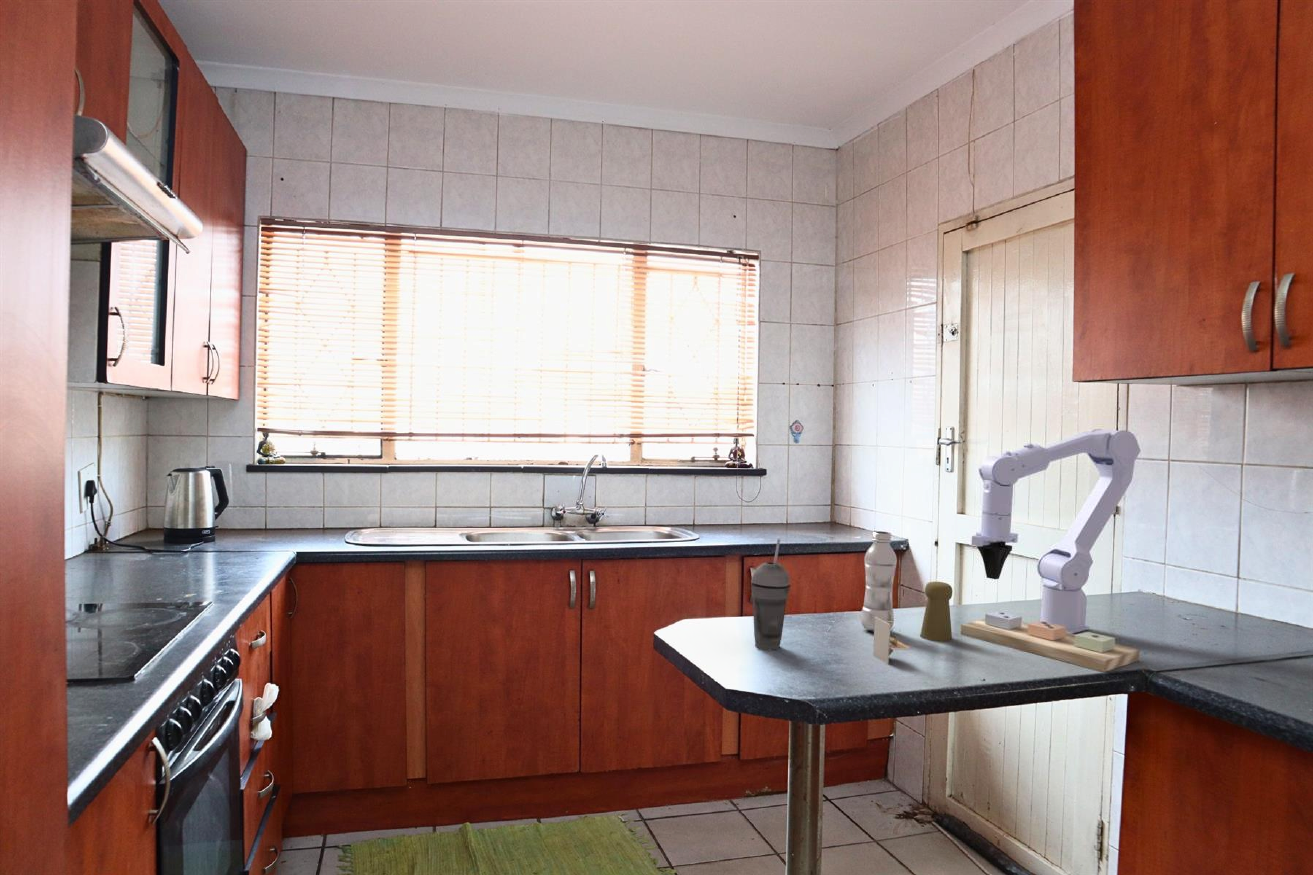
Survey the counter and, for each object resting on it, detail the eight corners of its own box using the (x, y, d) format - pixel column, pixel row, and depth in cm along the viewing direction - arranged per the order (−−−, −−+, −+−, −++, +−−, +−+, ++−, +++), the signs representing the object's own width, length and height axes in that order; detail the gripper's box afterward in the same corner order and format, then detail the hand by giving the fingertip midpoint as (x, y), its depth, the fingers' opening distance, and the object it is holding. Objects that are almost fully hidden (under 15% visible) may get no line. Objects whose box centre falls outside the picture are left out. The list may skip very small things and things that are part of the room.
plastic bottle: (857, 632, 166) (863, 532, 165) (862, 625, 172) (867, 529, 171) (891, 637, 163) (896, 536, 162) (895, 629, 169) (900, 532, 169)
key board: (998, 625, 177) (998, 616, 177) (1138, 660, 154) (1139, 649, 154) (960, 634, 168) (961, 624, 168) (1104, 671, 146) (1104, 660, 146)
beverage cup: (755, 638, 158) (760, 533, 157) (792, 645, 154) (797, 538, 154) (741, 647, 151) (747, 538, 150) (780, 654, 148) (785, 542, 147)
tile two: (998, 620, 172) (998, 610, 172) (1021, 626, 168) (1022, 615, 168) (984, 623, 169) (985, 613, 169) (1008, 629, 165) (1008, 618, 165)
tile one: (1087, 642, 158) (1087, 630, 158) (1114, 648, 154) (1115, 637, 154) (1074, 645, 155) (1074, 634, 154) (1102, 652, 151) (1102, 640, 151)
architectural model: (889, 657, 151) (891, 616, 151) (908, 668, 144) (911, 626, 144) (872, 657, 150) (874, 616, 150) (890, 669, 144) (892, 626, 143)
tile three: (1040, 630, 165) (1041, 620, 165) (1065, 637, 161) (1066, 625, 161) (1027, 634, 162) (1028, 623, 162) (1052, 640, 158) (1053, 629, 158)
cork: (954, 642, 161) (957, 586, 161) (921, 639, 162) (924, 584, 162) (949, 635, 167) (952, 580, 167) (918, 632, 168) (921, 578, 168)
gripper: (997, 510, 182) (993, 572, 182) (959, 512, 173) (955, 577, 173) (1028, 514, 176) (1024, 578, 176) (991, 516, 167) (987, 584, 168)
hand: (992, 578), depth 174 cm, fingers closed
